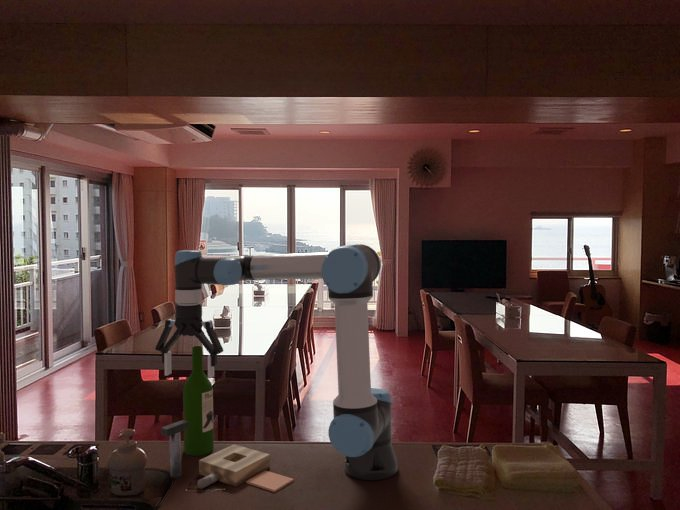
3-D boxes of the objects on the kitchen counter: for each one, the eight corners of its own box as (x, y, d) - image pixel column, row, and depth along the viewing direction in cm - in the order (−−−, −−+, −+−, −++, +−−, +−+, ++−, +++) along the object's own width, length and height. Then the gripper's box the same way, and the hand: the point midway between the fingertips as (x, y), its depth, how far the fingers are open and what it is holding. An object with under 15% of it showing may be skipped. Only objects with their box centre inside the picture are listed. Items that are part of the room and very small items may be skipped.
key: (190, 471, 163) (189, 421, 162) (168, 481, 156) (167, 429, 156) (182, 469, 164) (181, 419, 164) (161, 479, 158) (160, 427, 157)
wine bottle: (204, 457, 173) (202, 350, 171) (178, 454, 175) (176, 349, 173) (218, 446, 181) (217, 344, 179) (193, 443, 184) (191, 343, 182)
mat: (293, 481, 156) (293, 478, 156) (274, 492, 150) (274, 490, 150) (265, 472, 162) (265, 470, 162) (246, 483, 155) (246, 481, 155)
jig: (269, 467, 165) (269, 454, 165) (219, 495, 148) (219, 480, 148) (234, 457, 173) (233, 444, 172) (182, 482, 156) (182, 467, 156)
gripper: (234, 303, 167) (234, 375, 168) (156, 300, 172) (157, 370, 173) (223, 306, 159) (224, 382, 160) (142, 303, 164) (143, 376, 166)
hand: (189, 376), depth 167 cm, fingers open, 13 cm apart
